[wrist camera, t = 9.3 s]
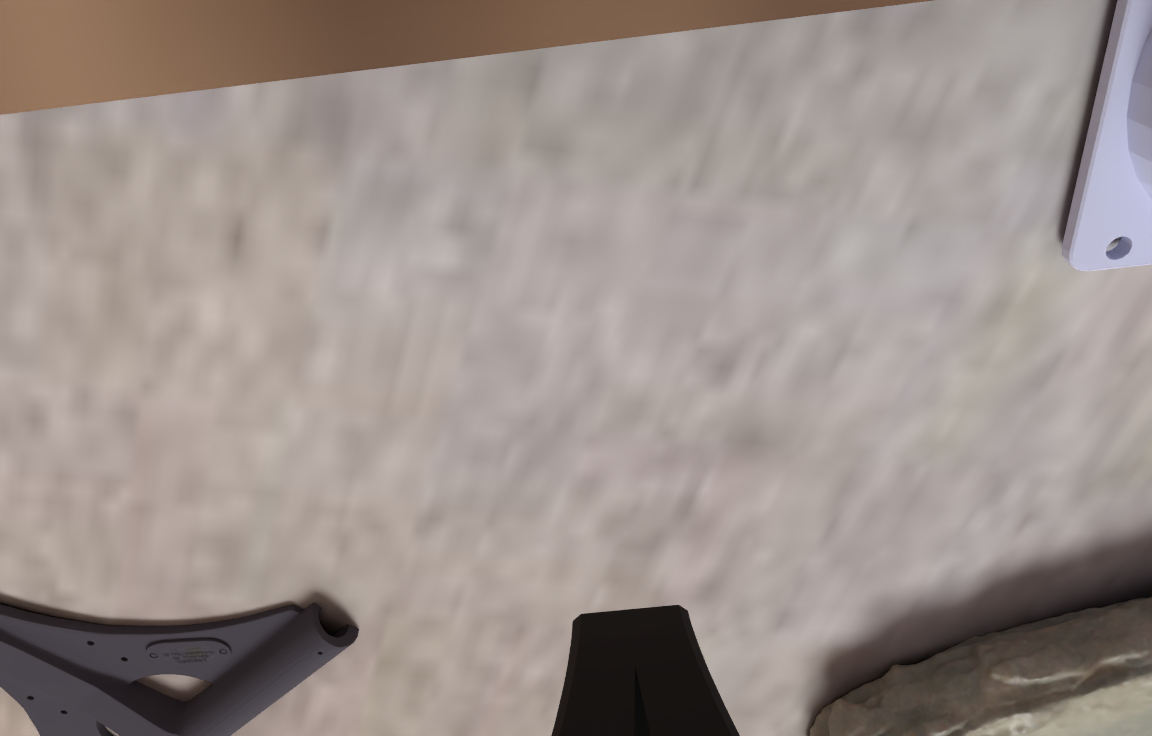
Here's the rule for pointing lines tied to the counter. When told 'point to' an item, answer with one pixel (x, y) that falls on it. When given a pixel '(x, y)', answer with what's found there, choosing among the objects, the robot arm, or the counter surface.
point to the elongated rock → (1017, 683)
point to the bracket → (158, 670)
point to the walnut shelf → (312, 38)
